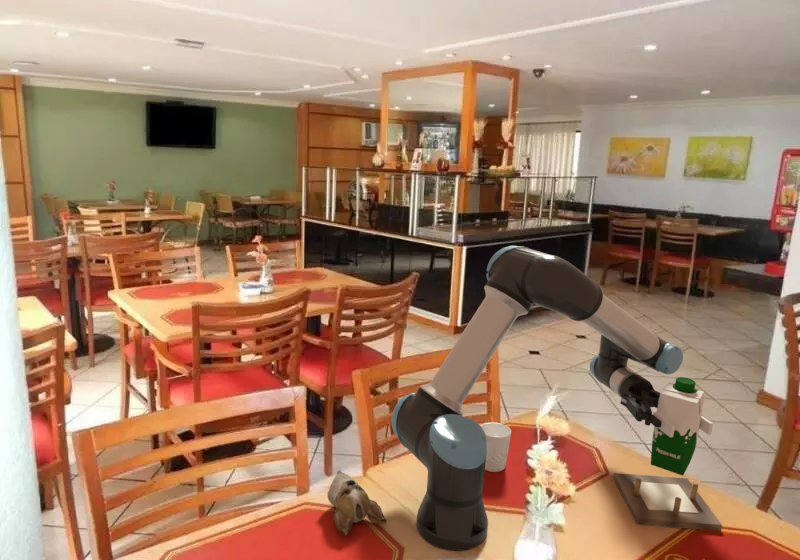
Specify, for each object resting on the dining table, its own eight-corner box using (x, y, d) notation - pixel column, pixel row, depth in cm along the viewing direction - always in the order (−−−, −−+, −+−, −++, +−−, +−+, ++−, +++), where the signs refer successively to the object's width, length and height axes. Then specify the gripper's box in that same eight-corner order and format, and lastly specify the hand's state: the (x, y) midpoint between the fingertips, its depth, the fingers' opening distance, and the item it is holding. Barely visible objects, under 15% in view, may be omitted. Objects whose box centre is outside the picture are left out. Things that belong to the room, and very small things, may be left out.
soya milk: (695, 462, 133) (709, 382, 129) (686, 479, 126) (701, 396, 122) (655, 449, 139) (667, 372, 134) (644, 465, 132) (657, 384, 127)
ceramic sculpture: (360, 458, 131) (391, 497, 119) (358, 490, 134) (388, 532, 121) (316, 469, 126) (343, 511, 114) (315, 502, 129) (341, 547, 116)
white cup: (471, 466, 146) (474, 430, 144) (485, 453, 153) (488, 419, 150) (499, 477, 142) (502, 440, 140) (512, 463, 148) (516, 428, 146)
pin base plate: (637, 524, 126) (640, 502, 125) (612, 478, 144) (615, 458, 143) (721, 530, 126) (725, 508, 124) (686, 483, 143) (689, 464, 142)
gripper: (666, 398, 150) (731, 442, 129) (591, 403, 146) (645, 449, 124) (671, 372, 148) (737, 412, 127) (595, 375, 144) (650, 417, 123)
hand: (691, 430), depth 126 cm, fingers closed on soya milk, 9 cm apart
